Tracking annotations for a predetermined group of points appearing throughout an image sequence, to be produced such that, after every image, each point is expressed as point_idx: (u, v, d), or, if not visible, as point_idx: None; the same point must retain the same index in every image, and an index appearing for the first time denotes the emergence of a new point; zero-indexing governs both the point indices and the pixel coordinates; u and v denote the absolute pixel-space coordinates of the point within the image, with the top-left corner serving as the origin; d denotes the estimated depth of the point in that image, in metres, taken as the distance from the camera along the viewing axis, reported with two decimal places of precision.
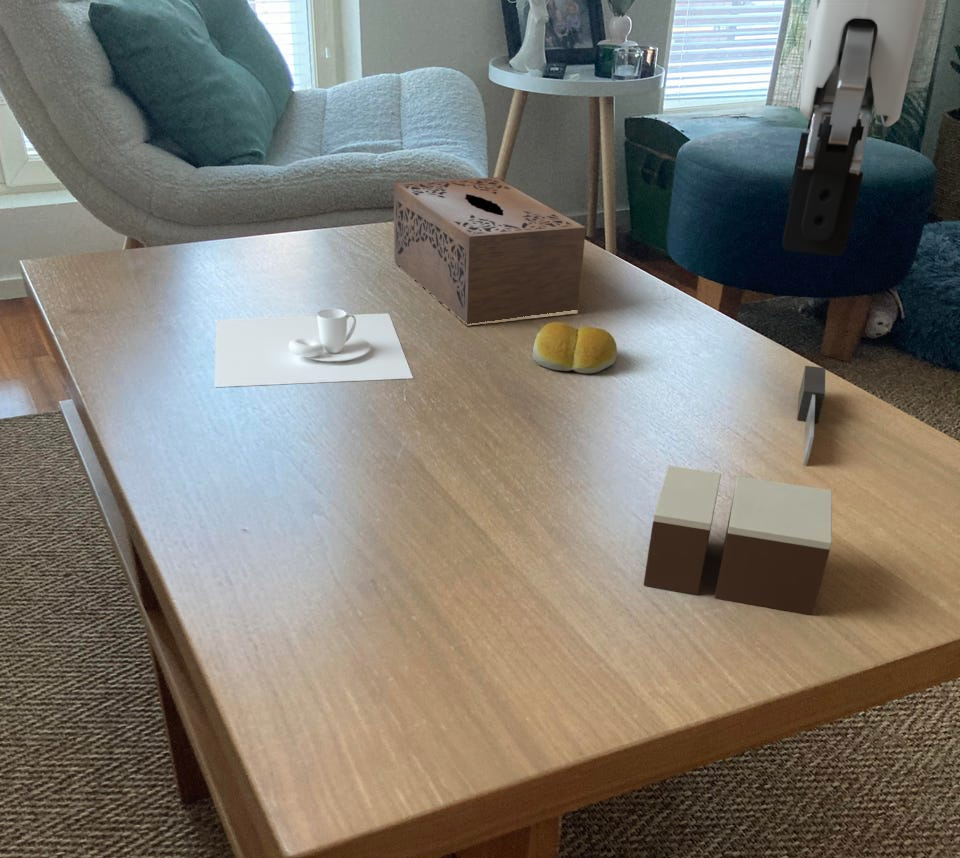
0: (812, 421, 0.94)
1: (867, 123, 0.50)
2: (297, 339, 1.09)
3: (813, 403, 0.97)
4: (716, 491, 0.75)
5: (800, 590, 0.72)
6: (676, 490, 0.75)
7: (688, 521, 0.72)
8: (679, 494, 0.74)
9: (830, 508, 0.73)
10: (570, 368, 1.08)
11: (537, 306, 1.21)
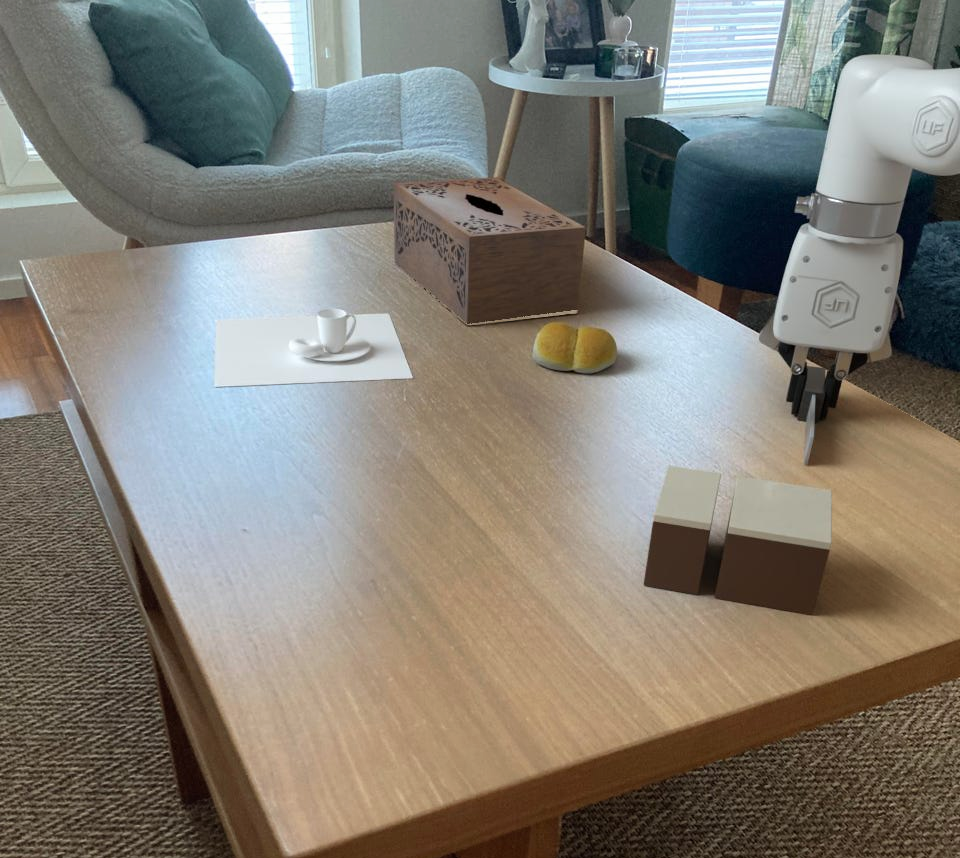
0: (812, 421, 0.94)
1: (806, 352, 0.97)
2: (297, 339, 1.09)
3: (813, 403, 0.97)
4: (716, 491, 0.75)
5: (800, 590, 0.72)
6: (676, 490, 0.75)
7: (688, 521, 0.72)
8: (679, 494, 0.74)
9: (830, 508, 0.73)
10: (570, 368, 1.08)
11: (537, 306, 1.21)
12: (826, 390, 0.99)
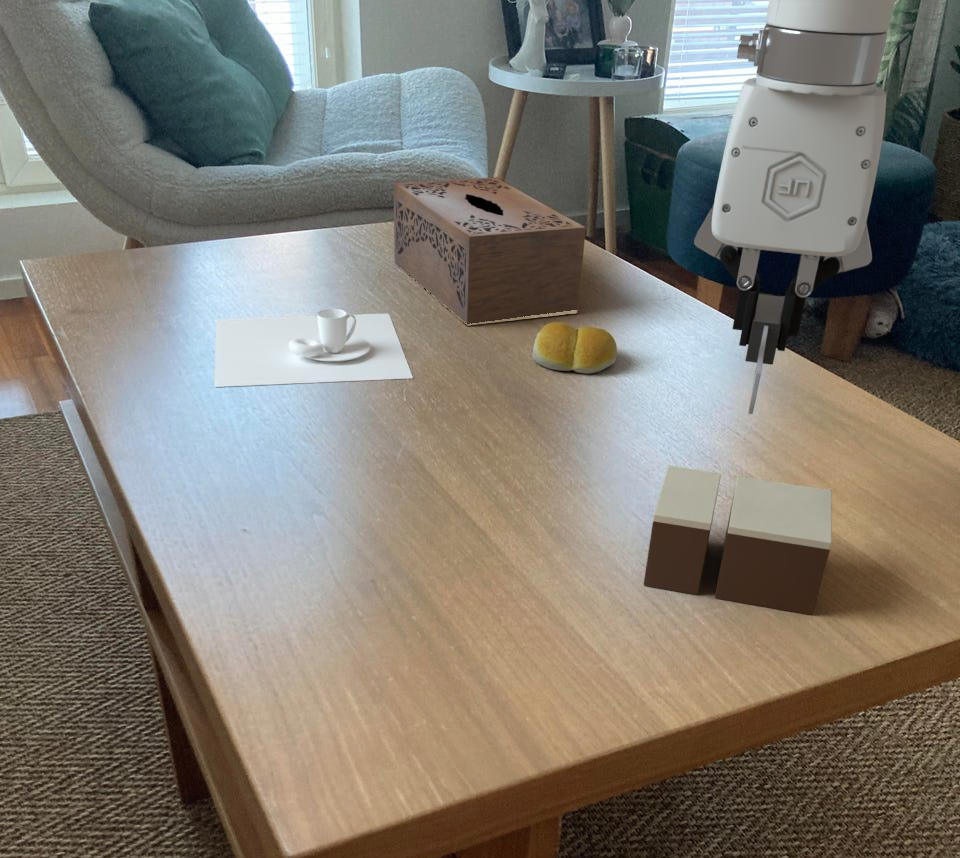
0: (761, 355, 0.69)
1: (757, 259, 0.72)
2: (297, 339, 1.09)
3: (764, 335, 0.72)
4: (716, 491, 0.75)
5: (800, 590, 0.72)
6: (676, 490, 0.75)
7: (688, 521, 0.72)
8: (679, 494, 0.74)
9: (830, 508, 0.73)
10: (570, 368, 1.08)
11: (537, 306, 1.21)
12: (784, 311, 0.73)
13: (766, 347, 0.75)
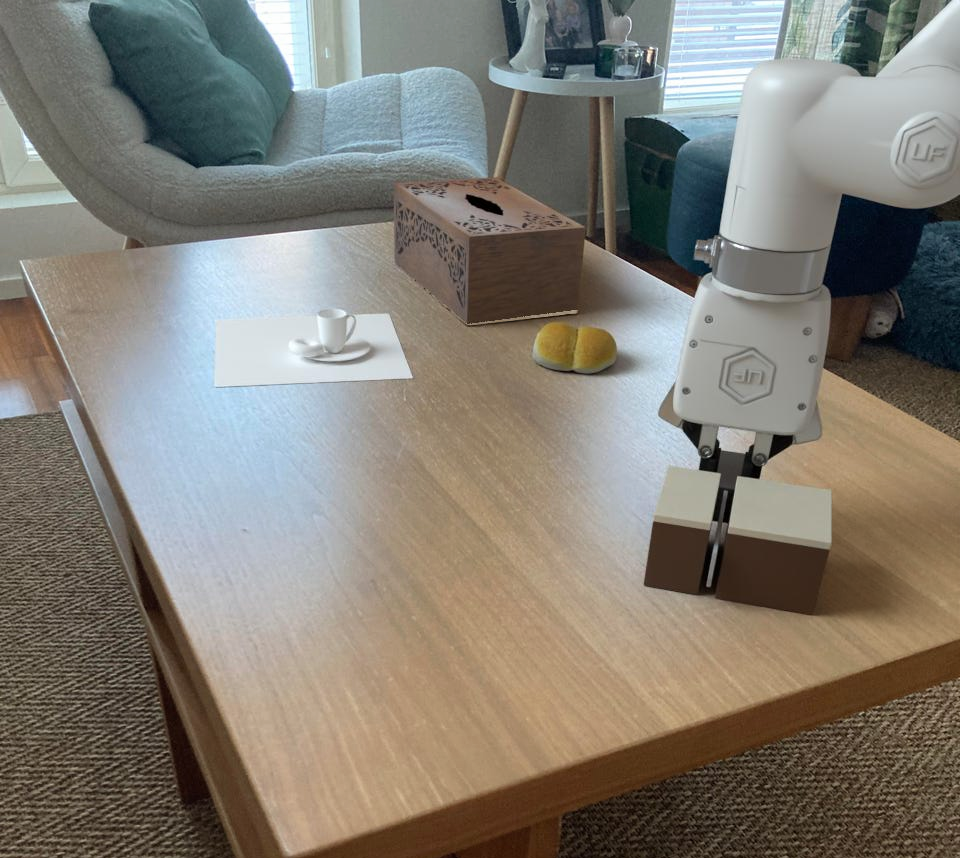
0: (718, 530, 0.74)
1: (716, 432, 0.78)
2: (297, 339, 1.09)
3: (723, 503, 0.77)
4: (716, 491, 0.75)
5: (800, 590, 0.72)
6: (676, 490, 0.75)
7: (688, 521, 0.72)
8: (679, 494, 0.74)
9: (830, 508, 0.73)
10: (570, 368, 1.08)
11: (537, 306, 1.21)
12: None
13: (726, 509, 0.80)
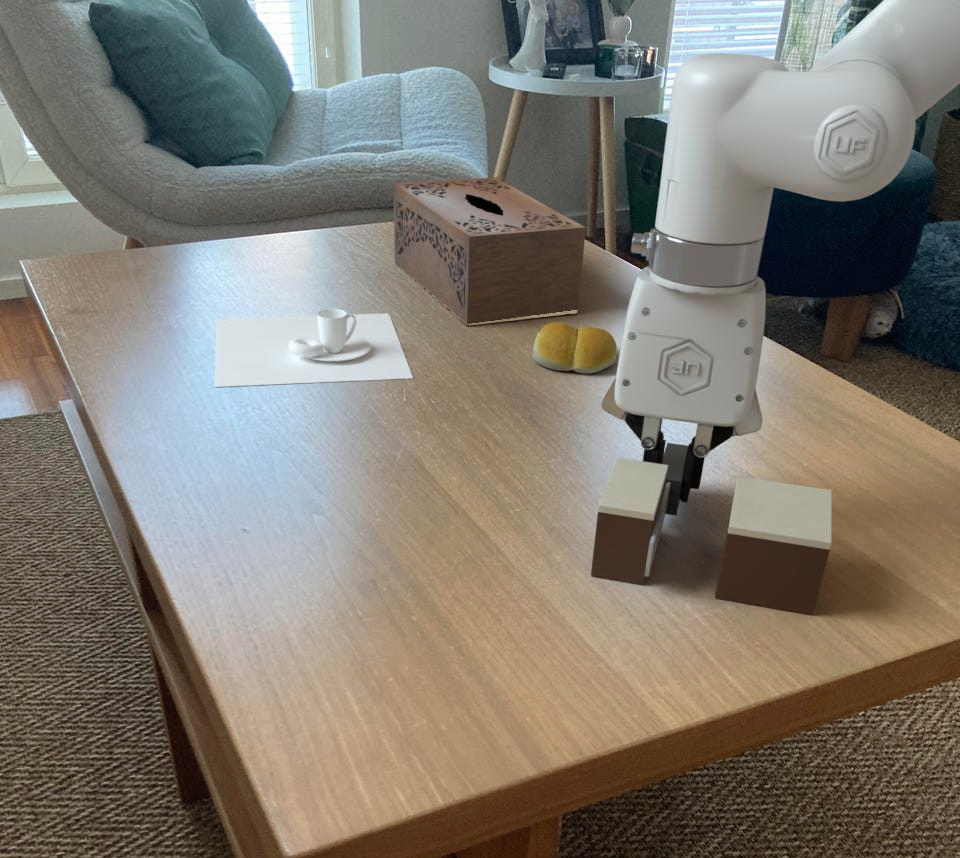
0: (657, 520, 0.75)
1: (658, 423, 0.79)
2: (297, 339, 1.09)
3: (665, 495, 0.78)
4: (662, 482, 0.76)
5: (800, 590, 0.72)
6: (623, 481, 0.76)
7: (632, 511, 0.72)
8: (625, 485, 0.75)
9: (830, 508, 0.73)
10: (570, 368, 1.08)
11: (537, 306, 1.21)
12: (685, 469, 0.80)
13: (669, 500, 0.81)
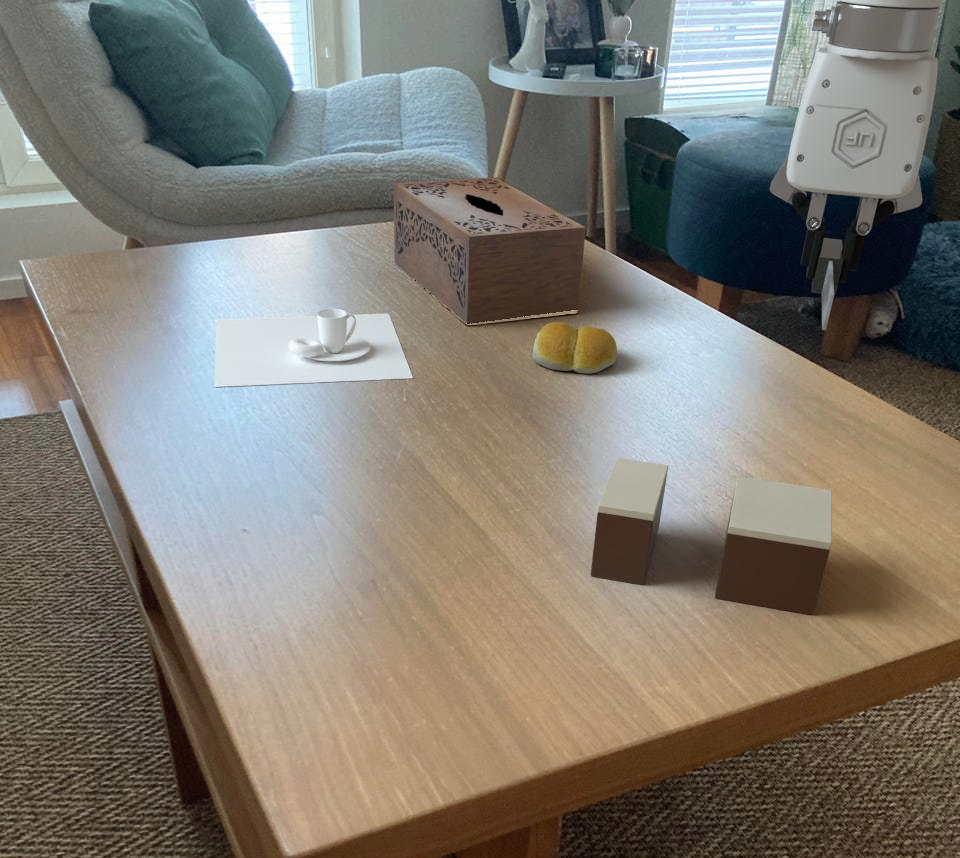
0: (831, 282, 0.82)
1: (824, 202, 0.85)
2: (297, 339, 1.09)
3: (831, 267, 0.85)
4: (662, 482, 0.76)
5: (800, 590, 0.72)
6: (622, 482, 0.76)
7: (632, 512, 0.72)
8: (625, 485, 0.75)
9: (830, 508, 0.73)
10: (570, 368, 1.08)
11: (537, 306, 1.21)
12: (846, 248, 0.86)
13: None
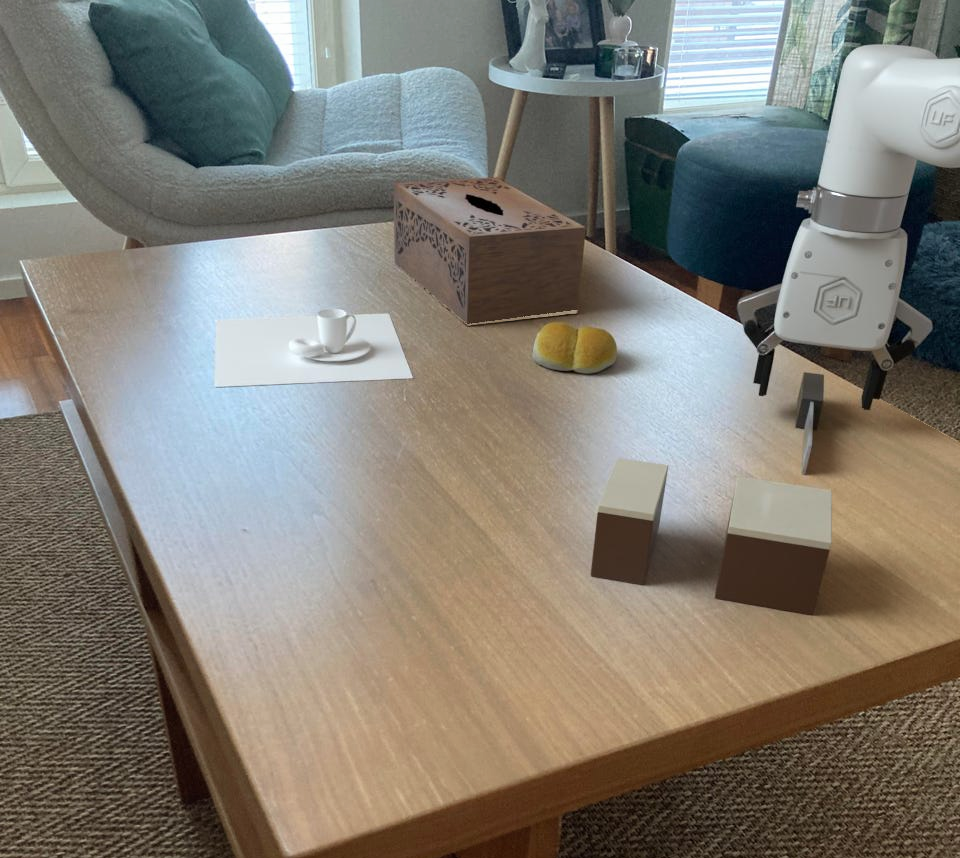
0: (810, 429, 0.92)
1: (772, 332, 0.95)
2: (297, 339, 1.09)
3: (811, 411, 0.95)
4: (662, 482, 0.76)
5: (800, 590, 0.72)
6: (622, 481, 0.76)
7: (632, 512, 0.72)
8: (625, 485, 0.75)
9: (830, 508, 0.73)
10: (570, 368, 1.08)
11: (537, 306, 1.21)
12: (871, 380, 0.95)
13: None
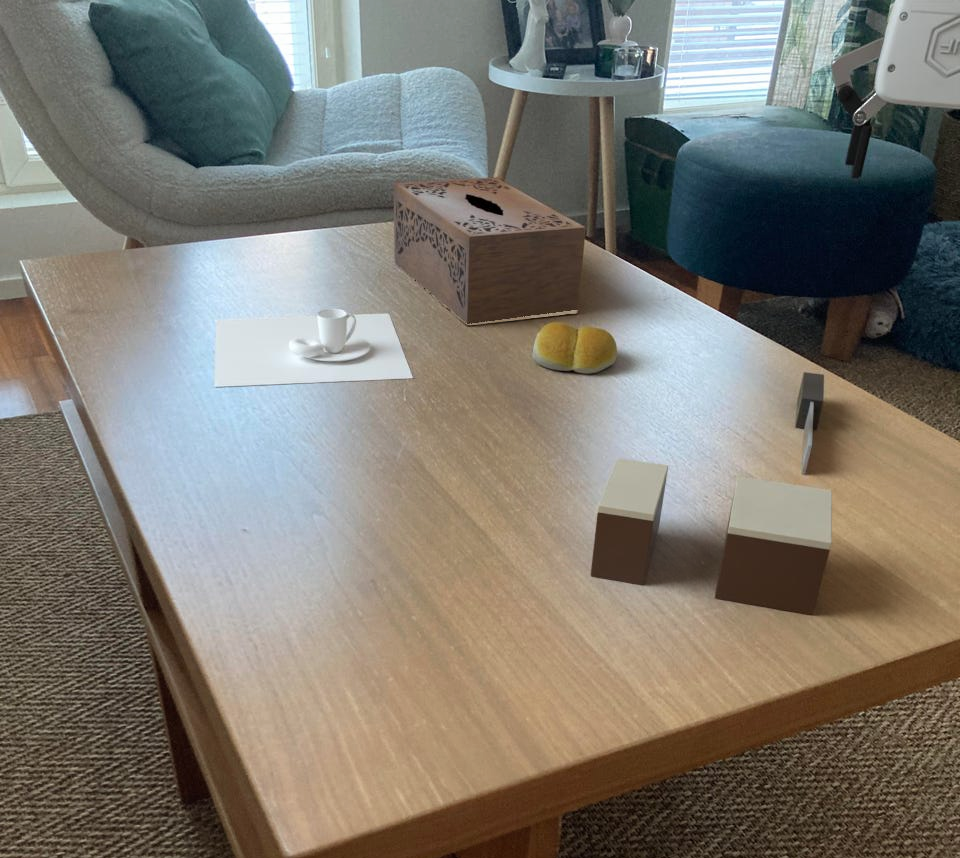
0: (810, 429, 0.92)
1: (872, 95, 0.83)
2: (297, 339, 1.09)
3: (811, 411, 0.95)
4: (662, 482, 0.76)
5: (800, 590, 0.72)
6: (622, 482, 0.76)
7: (631, 512, 0.72)
8: (625, 485, 0.75)
9: (830, 508, 0.73)
10: (570, 368, 1.08)
11: (537, 306, 1.21)
12: None
13: None
